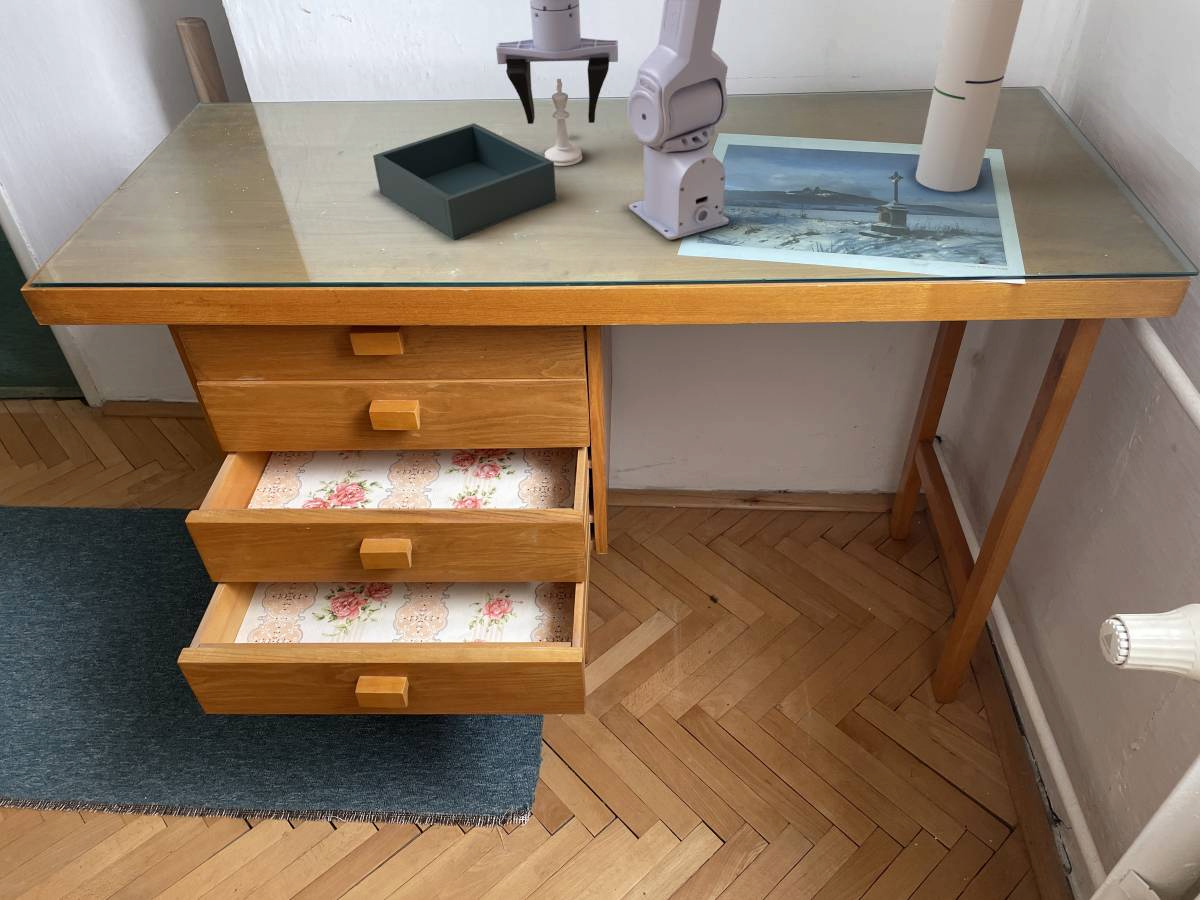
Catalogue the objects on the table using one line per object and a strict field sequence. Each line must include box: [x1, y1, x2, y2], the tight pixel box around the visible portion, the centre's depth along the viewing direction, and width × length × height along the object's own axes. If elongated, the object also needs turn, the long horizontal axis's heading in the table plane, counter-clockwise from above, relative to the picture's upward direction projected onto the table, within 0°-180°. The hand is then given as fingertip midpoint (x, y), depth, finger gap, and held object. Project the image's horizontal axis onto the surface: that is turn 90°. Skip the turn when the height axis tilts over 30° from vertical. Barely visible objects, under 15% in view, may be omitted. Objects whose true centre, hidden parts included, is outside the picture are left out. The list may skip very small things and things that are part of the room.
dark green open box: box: [372, 122, 557, 241], centre depth 109 cm, size 17×15×5 cm
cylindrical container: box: [915, 0, 1025, 193], centre depth 103 cm, size 7×7×25 cm
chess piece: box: [544, 78, 583, 167], centre depth 115 cm, size 5×5×10 cm
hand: (561, 120), depth 115 cm, fingers open, 7 cm apart
